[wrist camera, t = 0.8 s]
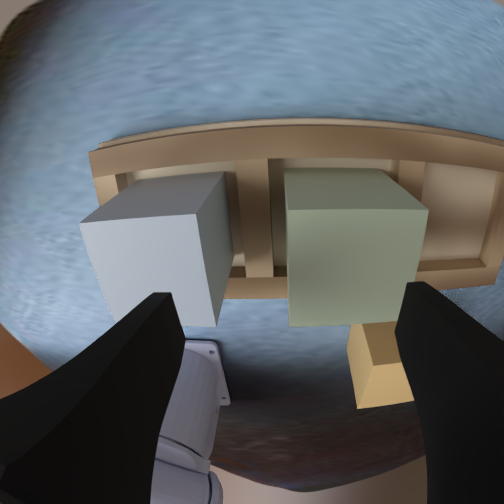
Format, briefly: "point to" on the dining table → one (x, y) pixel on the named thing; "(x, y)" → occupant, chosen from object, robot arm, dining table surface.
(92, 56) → the dining table surface
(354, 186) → the sage block
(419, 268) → the slot board
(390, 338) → the ochre block
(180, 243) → the blue-grey block
